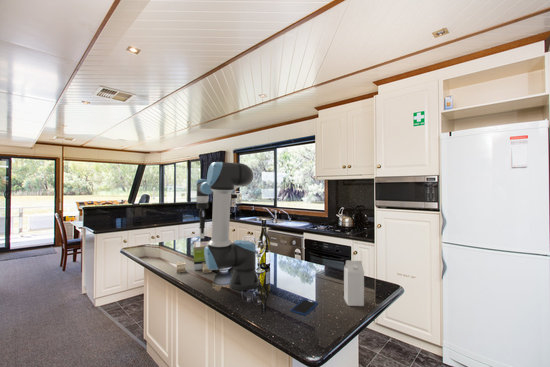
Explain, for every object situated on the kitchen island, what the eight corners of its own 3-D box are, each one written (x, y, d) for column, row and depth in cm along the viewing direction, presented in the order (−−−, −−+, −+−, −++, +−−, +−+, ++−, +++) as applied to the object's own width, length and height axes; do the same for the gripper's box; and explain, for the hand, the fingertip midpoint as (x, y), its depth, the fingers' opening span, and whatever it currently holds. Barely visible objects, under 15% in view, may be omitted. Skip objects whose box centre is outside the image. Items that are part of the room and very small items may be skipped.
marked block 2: (211, 272, 157) (211, 263, 157) (203, 273, 155) (203, 264, 156) (210, 269, 162) (210, 261, 162) (202, 270, 160) (202, 262, 160)
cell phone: (318, 304, 116) (318, 302, 116) (305, 317, 104) (305, 315, 104) (304, 300, 119) (304, 298, 119) (289, 312, 108) (289, 310, 108)
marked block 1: (185, 271, 157) (185, 263, 157) (176, 272, 156) (176, 264, 156) (185, 269, 162) (185, 261, 162) (176, 270, 160) (176, 262, 160)
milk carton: (343, 299, 120) (344, 258, 120) (359, 299, 120) (359, 258, 120) (347, 306, 113) (347, 262, 113) (364, 306, 113) (364, 263, 113)
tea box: (193, 263, 175) (194, 241, 175) (208, 262, 178) (209, 240, 178) (193, 270, 160) (193, 246, 161) (210, 268, 163) (210, 245, 164)
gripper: (209, 202, 165) (209, 239, 165) (207, 201, 177) (206, 236, 177) (197, 203, 162) (196, 240, 162) (195, 201, 175) (195, 236, 174)
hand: (202, 238), depth 169 cm, fingers closed
